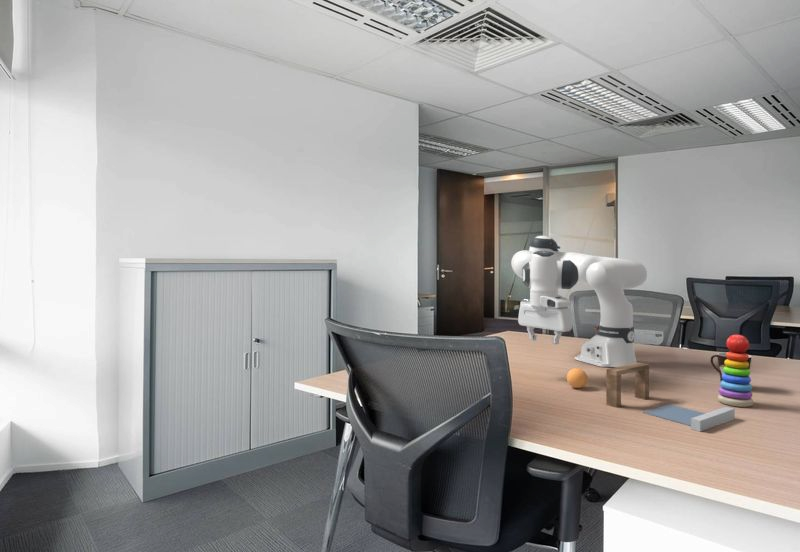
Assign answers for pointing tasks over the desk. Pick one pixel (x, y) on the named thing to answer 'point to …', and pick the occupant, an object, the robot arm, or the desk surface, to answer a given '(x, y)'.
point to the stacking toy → (736, 374)
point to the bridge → (615, 382)
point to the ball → (577, 378)
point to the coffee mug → (721, 360)
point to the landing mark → (674, 413)
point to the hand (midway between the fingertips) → (543, 342)
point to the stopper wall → (712, 419)
